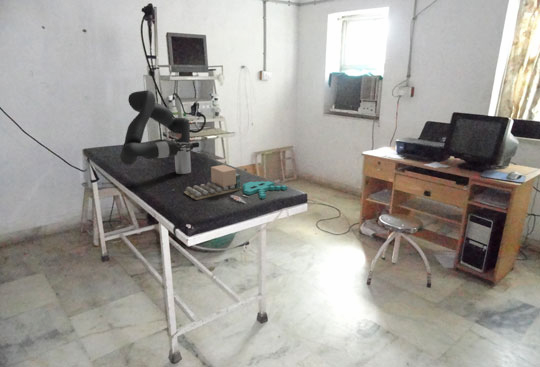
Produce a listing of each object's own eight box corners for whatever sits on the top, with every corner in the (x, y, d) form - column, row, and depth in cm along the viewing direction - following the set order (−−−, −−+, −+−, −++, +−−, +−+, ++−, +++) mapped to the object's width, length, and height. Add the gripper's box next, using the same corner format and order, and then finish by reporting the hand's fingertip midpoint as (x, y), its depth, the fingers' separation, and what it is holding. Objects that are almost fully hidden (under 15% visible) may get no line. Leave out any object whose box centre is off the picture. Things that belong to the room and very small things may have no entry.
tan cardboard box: (211, 181, 199) (211, 166, 197) (224, 178, 204) (223, 164, 202) (223, 186, 191) (222, 172, 188) (236, 184, 195) (236, 169, 193)
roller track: (184, 193, 191) (183, 178, 189) (228, 183, 207) (228, 169, 205) (196, 200, 182) (195, 184, 179) (241, 189, 198) (241, 175, 195)
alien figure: (286, 189, 199) (258, 182, 211) (286, 186, 199) (258, 178, 211) (262, 199, 185) (234, 191, 197) (263, 195, 184) (234, 187, 196)
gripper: (170, 143, 166) (204, 139, 176) (158, 138, 175) (191, 135, 186) (171, 159, 168) (205, 154, 178) (160, 154, 178) (192, 149, 188)
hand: (198, 144), depth 182 cm, fingers closed
